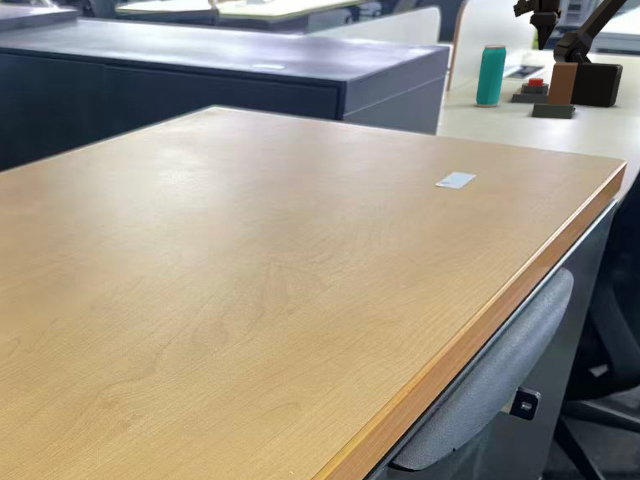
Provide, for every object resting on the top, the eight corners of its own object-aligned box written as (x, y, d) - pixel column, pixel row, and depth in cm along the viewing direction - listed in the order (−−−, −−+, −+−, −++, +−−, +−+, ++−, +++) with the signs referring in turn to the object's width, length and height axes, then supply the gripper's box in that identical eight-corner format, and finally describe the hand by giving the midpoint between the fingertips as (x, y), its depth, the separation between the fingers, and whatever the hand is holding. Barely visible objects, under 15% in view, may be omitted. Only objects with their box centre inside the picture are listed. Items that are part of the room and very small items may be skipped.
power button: (528, 84, 233) (530, 77, 232) (543, 85, 232) (544, 78, 231) (526, 86, 231) (528, 79, 230) (541, 87, 229) (542, 80, 228)
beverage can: (497, 104, 229) (507, 44, 222) (498, 108, 224) (507, 46, 217) (474, 104, 230) (483, 44, 224) (475, 107, 226) (483, 47, 219)
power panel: (518, 95, 239) (520, 80, 238) (553, 97, 235) (556, 81, 233) (511, 102, 230) (513, 87, 228) (547, 104, 226) (550, 88, 224)
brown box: (548, 107, 223) (556, 62, 218) (569, 108, 220) (577, 62, 215) (545, 110, 219) (553, 64, 214) (567, 111, 217) (575, 65, 211)
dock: (536, 110, 219) (538, 98, 217) (574, 112, 215) (577, 100, 213) (531, 116, 212) (533, 104, 211) (570, 118, 208) (573, 106, 207)
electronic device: (574, 102, 227) (582, 62, 223) (615, 105, 221) (623, 64, 216) (568, 104, 225) (576, 64, 220) (608, 108, 218) (617, 66, 214)
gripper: (522, -15, 236) (513, 45, 243) (513, -11, 222) (504, 53, 229) (567, -16, 231) (556, 46, 239) (561, -12, 217) (549, 54, 224)
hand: (540, 50), depth 233 cm, fingers closed
